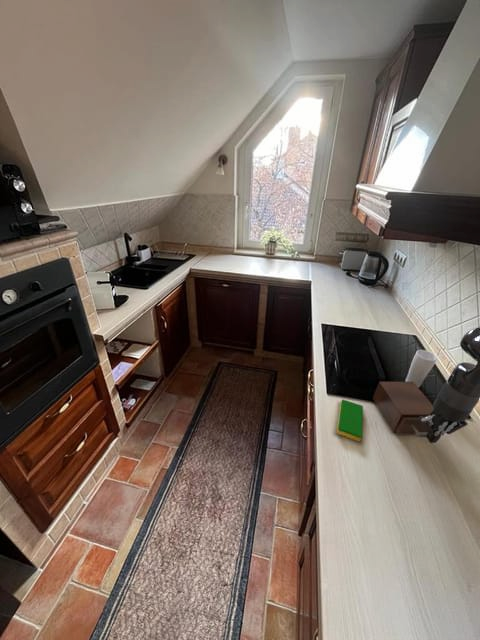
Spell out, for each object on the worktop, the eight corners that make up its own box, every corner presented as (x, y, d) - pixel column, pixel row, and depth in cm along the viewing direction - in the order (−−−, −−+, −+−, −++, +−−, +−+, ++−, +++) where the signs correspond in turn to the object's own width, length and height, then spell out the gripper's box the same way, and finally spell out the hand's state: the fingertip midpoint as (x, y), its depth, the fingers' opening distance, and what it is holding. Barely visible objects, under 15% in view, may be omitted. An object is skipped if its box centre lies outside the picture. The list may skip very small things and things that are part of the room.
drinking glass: (425, 391, 100) (440, 361, 93) (406, 388, 101) (421, 359, 94) (417, 379, 106) (431, 350, 99) (400, 377, 107) (413, 348, 100)
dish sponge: (361, 410, 91) (363, 405, 90) (359, 442, 80) (361, 437, 79) (340, 403, 94) (342, 399, 93) (336, 433, 83) (338, 428, 82)
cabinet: (430, 432, 84) (441, 414, 80) (392, 432, 84) (401, 414, 80) (404, 398, 97) (412, 381, 93) (372, 398, 97) (379, 381, 92)
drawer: (440, 445, 79) (450, 431, 76) (405, 445, 79) (413, 431, 75) (407, 401, 94) (414, 388, 91) (377, 401, 94) (383, 388, 91)
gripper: (442, 410, 64) (417, 452, 73) (492, 410, 64) (462, 452, 73) (422, 388, 71) (401, 429, 79) (469, 388, 71) (443, 429, 79)
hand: (430, 440), depth 76 cm, fingers closed
